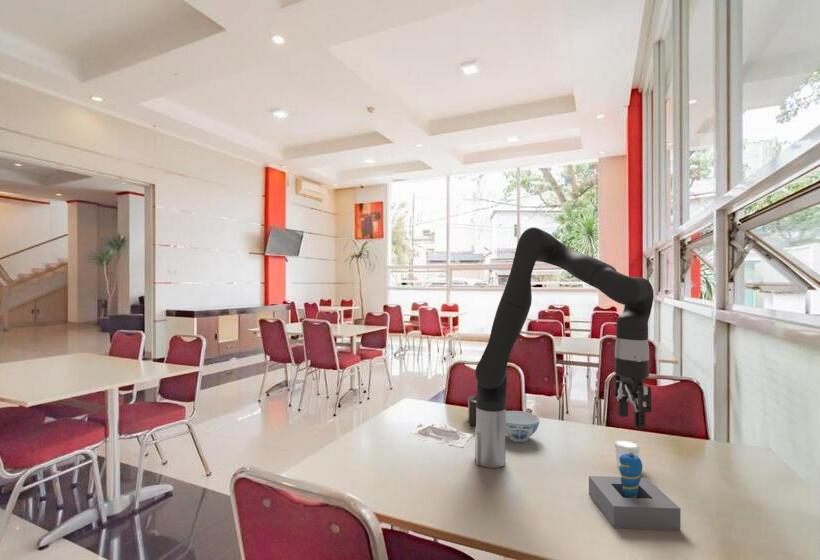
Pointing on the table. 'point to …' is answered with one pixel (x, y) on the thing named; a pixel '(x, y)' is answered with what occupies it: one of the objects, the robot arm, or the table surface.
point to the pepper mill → (472, 410)
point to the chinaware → (521, 425)
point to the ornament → (630, 474)
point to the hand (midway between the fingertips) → (631, 421)
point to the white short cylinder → (625, 449)
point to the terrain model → (440, 435)
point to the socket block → (634, 505)
